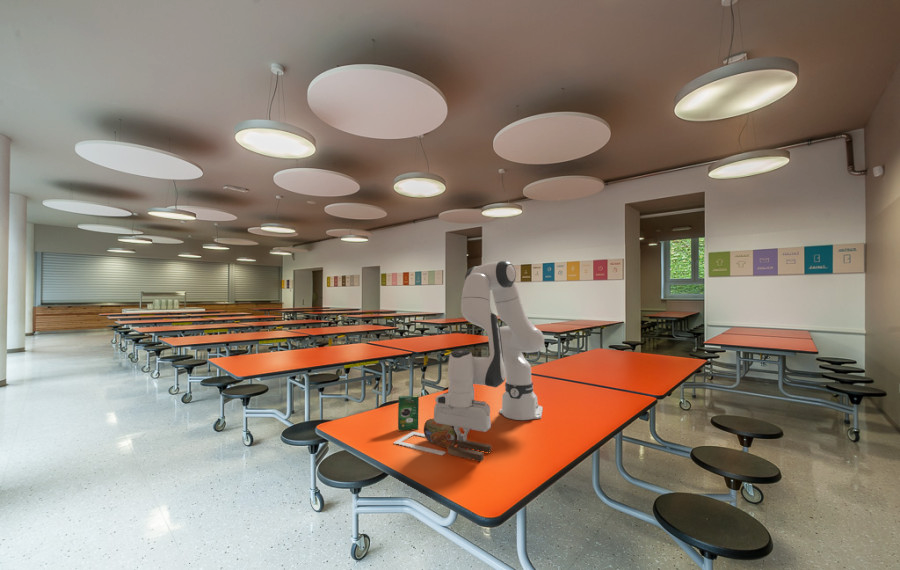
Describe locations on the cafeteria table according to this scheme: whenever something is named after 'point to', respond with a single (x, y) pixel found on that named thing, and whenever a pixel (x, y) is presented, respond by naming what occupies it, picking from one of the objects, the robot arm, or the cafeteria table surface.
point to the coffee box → (408, 412)
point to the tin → (440, 434)
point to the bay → (417, 445)
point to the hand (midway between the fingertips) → (461, 440)
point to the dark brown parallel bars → (469, 453)
